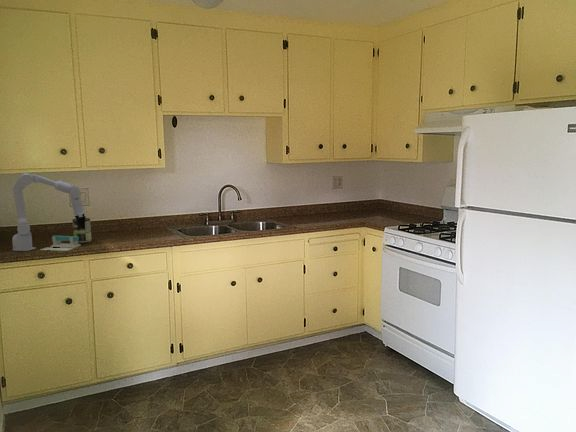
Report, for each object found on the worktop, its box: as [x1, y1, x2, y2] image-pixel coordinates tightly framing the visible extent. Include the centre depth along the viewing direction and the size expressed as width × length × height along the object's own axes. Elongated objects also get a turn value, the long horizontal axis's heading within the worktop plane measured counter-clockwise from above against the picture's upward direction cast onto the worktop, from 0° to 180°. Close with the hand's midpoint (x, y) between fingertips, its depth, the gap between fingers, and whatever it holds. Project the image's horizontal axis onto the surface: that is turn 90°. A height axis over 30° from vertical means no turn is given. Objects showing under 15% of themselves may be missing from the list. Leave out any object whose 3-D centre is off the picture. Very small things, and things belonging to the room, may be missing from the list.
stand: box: [49, 237, 82, 249], centre depth 270 cm, size 15×7×6 cm, turn 81°
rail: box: [51, 235, 79, 242], centre depth 270 cm, size 16×2×2 cm, turn 81°
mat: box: [39, 247, 74, 252], centre depth 262 cm, size 17×6×1 cm, turn 81°
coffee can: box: [71, 217, 92, 244], centre depth 285 cm, size 10×10×14 cm
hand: (82, 227), depth 276 cm, fingers open, 7 cm apart
